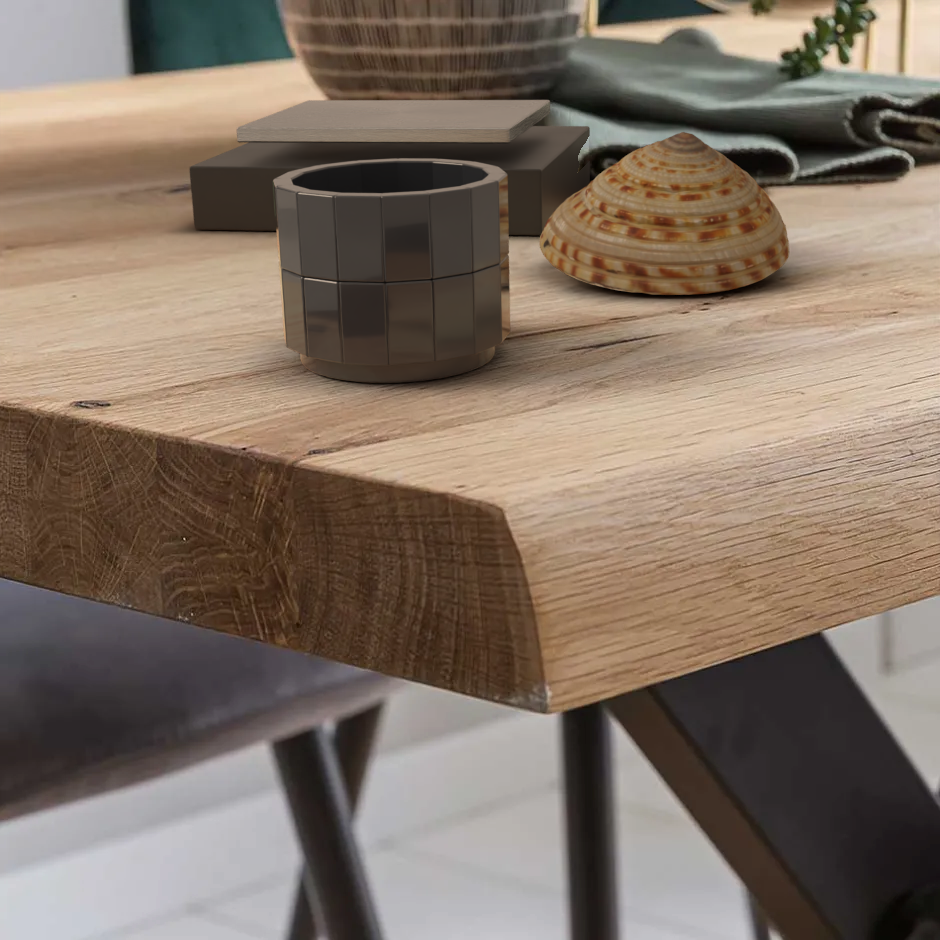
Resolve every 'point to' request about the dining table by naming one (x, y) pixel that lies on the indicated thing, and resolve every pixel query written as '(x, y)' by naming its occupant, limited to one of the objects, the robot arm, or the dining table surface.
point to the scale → (257, 164)
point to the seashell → (668, 224)
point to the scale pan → (397, 121)
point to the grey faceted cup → (394, 267)
